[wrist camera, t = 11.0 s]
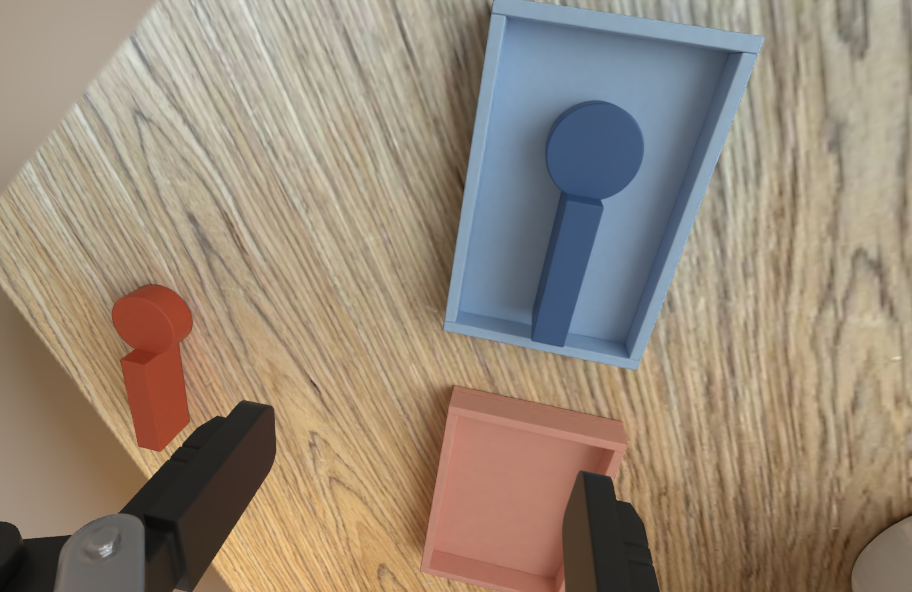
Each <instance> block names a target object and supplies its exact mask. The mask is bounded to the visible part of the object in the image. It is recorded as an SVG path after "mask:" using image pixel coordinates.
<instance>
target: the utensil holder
mask: <svg viewBox="0 0 912 592" xmlns="http://www.w3.org/2000/svg"><path fill="white" fill-rule="evenodd" d="M851 585H852V591H853V592H912V516H910V517H908V518H906V519H903V520H902V521H900V522H898V523H896V524H894V525H892V526H891V527H889V528H888V529H886V530H885V531H883V532H882V533H881V534H879V535H878V536H877V537H876V538H875V539H874V540H873V541H871V542H870V543H869V544H868V545H867V546H866V547H865V549H864V550H863V551H862V552H861V554H860V555H859V557H858V558H857V560H856V562H855V564H854V567H853V570H852V576H851Z"/></svg>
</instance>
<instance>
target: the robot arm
mask: <svg viewBox="0 0 912 592" xmlns="http://www.w3.org/2000/svg"><path fill="white" fill-rule="evenodd" d="M275 455H276V434H275V417H274V408H273V407H272V406H270V405H266V404H261V403H256V402H251V401H246V400H243V401H241V402H240V403H238V404H237V406H236V407H235V408H234V409H233V410H232V411H231V413H230V414H229V415H228V416H227V417H226V418H225V417H220V416H216V417H215V418H213V419H211V420H210V421H208V422H206V423H205V424H203V425H201V426H199V427H198V428H197V429H196V430H195V431H194V432H193V433H192V434H191V435H190V436H189V437H188V438H187V440H186V441H185V442H184V443H183V445H182V447H179V448H178V449H177V450H176V451H175V453H174V454H173V455H172V456H171V459H170V460H167V461H166V462H165V463H164V465H163V466H162V467H161V468H160V469H159V470H158V471H157V472H156V473H155V474H154V475H153V476H152V478H151V479H150V480H149V481H148V482H147V483H146V484H145V485H144V486H143V488H141V490H140V491H139V492H138V493H137V494H136V495H135V496H134V497H133V498H132V499H131V500H130V502H129V503H128V504H127V505H126V506H125V507H124V508H123V509H122V510H121V511H120V512H119V513H118V514H112V515H107V516H104V517H101V518H98V519H96V520H93V521H91V522H89V523H88V524H86V525H84V526H83V527H82V528H80V529H79V530H77V531H76V532H75V533H74V534H73V535H67V536H56V537H44V538H32V539H22V537H21V535H20V532H19V530H18V528H17V527H16V526H15V525H12V524H11V523H8V522H0V592H172V591H173V590H174V589H179V590H183V591H187V592H192V591H193V590H194V588H195V587H196V585H197V584H198V582H199V580H200V579H201V577H202V576H203V574H204V573H205V571H206V570H207V568H208V566H209V565H210V563H211V562H212V560H213V559H214V557H215V556H216V554H217V553H218V551H219V549H220V548H221V546H222V545H223V543H224V542H225V540H226V539H227V537H228V535H229V534H230V532H231V531H232V529H233V528H234V526H235V525H236V523H237V521H238V520H239V518H240V517H241V515H242V514H243V512H244V511H245V509H246V508H247V506H248V504H249V503H250V501H251V500H252V498H253V497H254V495H255V494H256V492H257V490H258V489H259V487H260V486H261V484H262V483H263V481H264V480H265V478H266V476H267V475H268V473H269V472H270V470H271V468H272V465H273V462H274V459H275ZM562 545H563V562H564V579H565V592H660V591H659V586H658V582H657V578H656V574H655V570H654V567H653V566H652V563H653V561H652V557H651V553H650V549H648V545H649V544H648V540H647V536H646V532H645V528H644V523H643V522H642V520H641V519H640V517H639V516H638V514H637V513H636V511H635V509H634V508H633V506H632V505H631V503H627V502H623V501H618V500H616V496H615V491H614V486H613V481H612V478H611V477H610V476H606V475H601V474H597V473H592V472H587V471H582V470H580V471H579V472H578V474H577V477H576V480H575V483H574V486H573V489H572V492H571V494H570V497H569V500H568V503H567V506H566V509H565V513H564V518H563V525H562Z"/></svg>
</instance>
